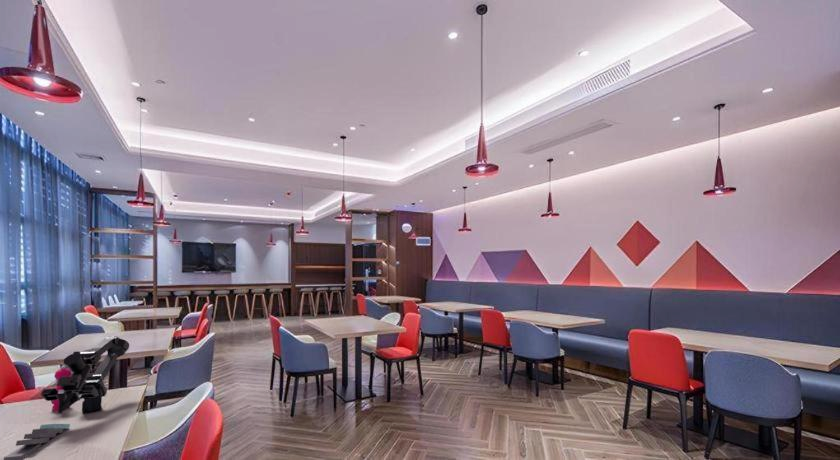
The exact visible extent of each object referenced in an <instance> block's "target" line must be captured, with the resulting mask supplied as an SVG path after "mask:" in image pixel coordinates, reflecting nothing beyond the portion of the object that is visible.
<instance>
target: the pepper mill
mask: <svg viewBox="0 0 840 460" xmlns="http://www.w3.org/2000/svg"><path fill="white" fill-rule="evenodd" d="M71 375H72V372H71V371H70V370H69V369H68V368H67V367H66V365H65V364H63V365H62V366H61V367H60V369H58V370H56V371H55V372H54V378H55V384H56V387H55V389H56V390H57V391H58V390H63V389H61V388H60V387H61V386H59V385H58V386H57V383H58V380H59V377H70V376H71ZM50 403H51V404H52V406H51V411H52V412H58V409H59V399H57V400H54V401H50ZM69 408H71V406H70V407H69ZM69 408H67V409H66V410H68V409H69Z"/></svg>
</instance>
